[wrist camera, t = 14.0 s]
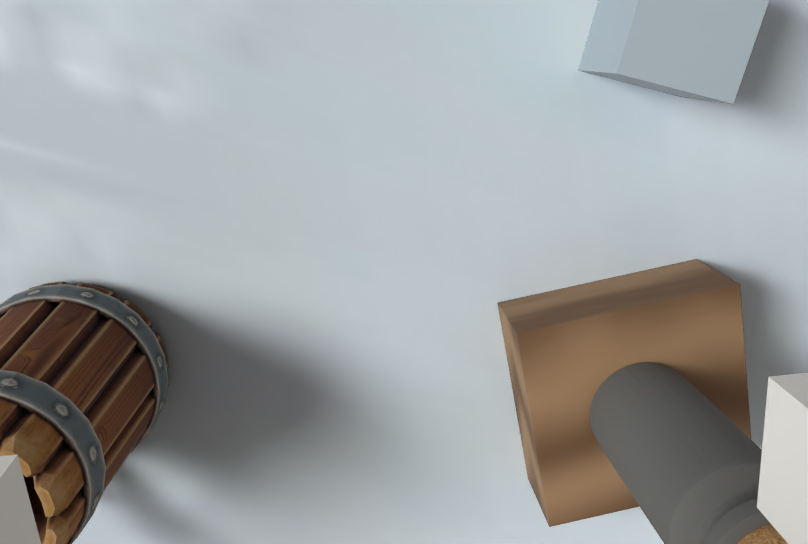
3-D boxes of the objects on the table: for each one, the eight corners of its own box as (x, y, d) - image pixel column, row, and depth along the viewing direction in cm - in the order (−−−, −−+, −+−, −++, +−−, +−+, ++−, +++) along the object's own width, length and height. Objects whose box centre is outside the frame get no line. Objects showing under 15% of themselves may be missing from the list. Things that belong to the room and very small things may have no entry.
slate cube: (611, -46, 40) (657, -63, 34) (716, -17, 40) (778, -27, 35) (577, 70, 41) (616, 73, 35) (679, 96, 42) (733, 103, 36)
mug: (1, 252, 41) (-178, 361, 27) (194, 308, 43) (122, 437, 29) (-52, 495, 45) (-234, 705, 31) (127, 537, 47) (34, 754, 32)
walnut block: (497, 302, 44) (516, 333, 40) (696, 259, 45) (739, 284, 40) (528, 479, 48) (549, 526, 43) (712, 437, 48) (754, 480, 43)
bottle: (696, 357, 41) (890, 524, 26) (688, 454, 42) (867, 660, 28) (590, 363, 40) (729, 536, 26) (586, 461, 42) (714, 674, 28)
